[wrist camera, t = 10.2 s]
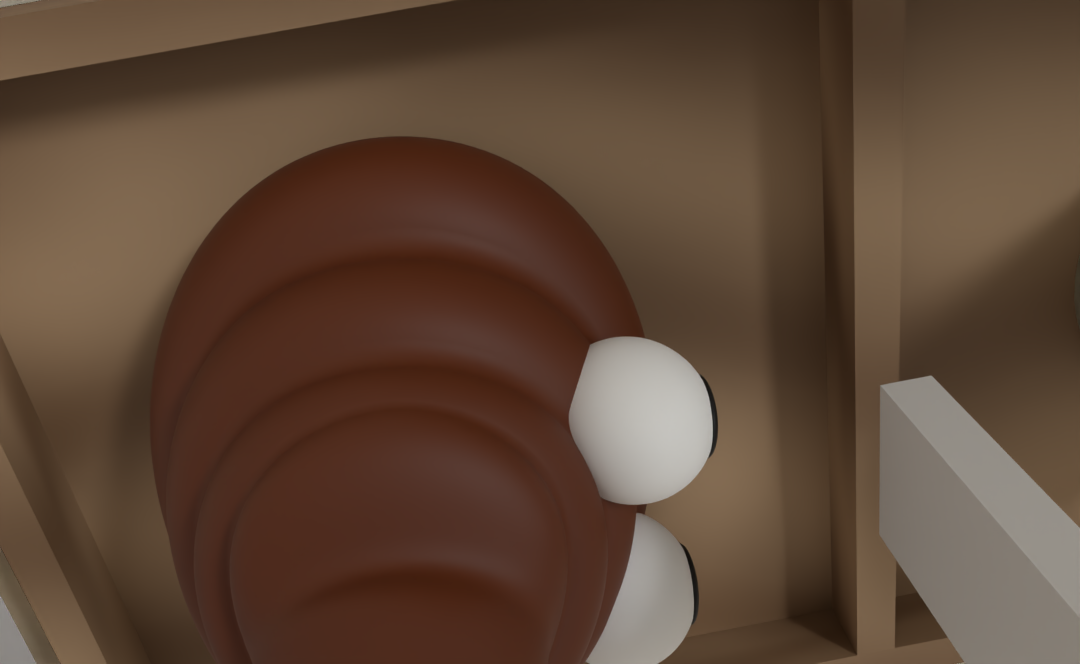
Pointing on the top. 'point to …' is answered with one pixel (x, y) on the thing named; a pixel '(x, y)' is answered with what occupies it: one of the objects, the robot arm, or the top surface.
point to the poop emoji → (421, 424)
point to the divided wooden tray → (620, 223)
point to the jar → (1077, 292)
